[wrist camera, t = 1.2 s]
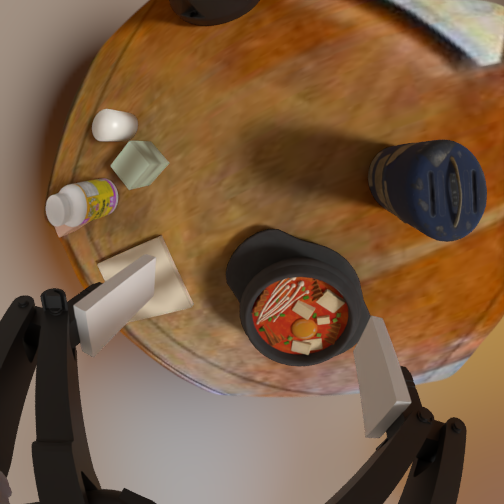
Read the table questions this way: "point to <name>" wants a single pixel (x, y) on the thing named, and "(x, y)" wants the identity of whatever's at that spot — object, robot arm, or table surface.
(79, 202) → the supplement bottle
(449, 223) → the canister
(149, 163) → the sage block
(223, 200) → the table surface
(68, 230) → the terracotta block
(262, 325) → the casserole
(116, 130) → the white domed cylinder
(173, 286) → the birch board
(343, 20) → the table surface
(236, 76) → the table surface
